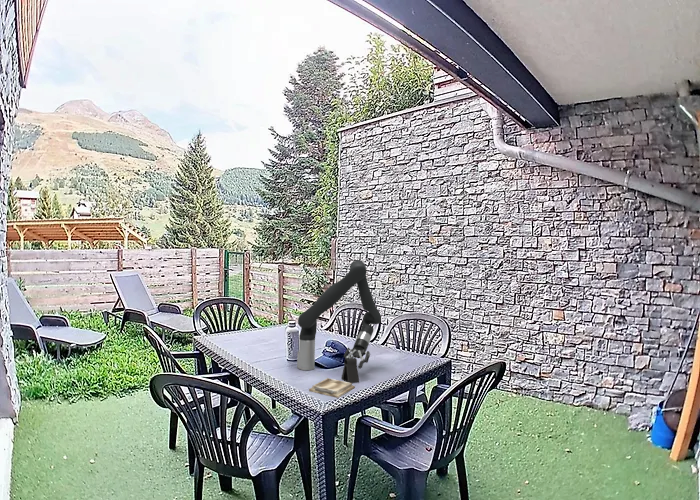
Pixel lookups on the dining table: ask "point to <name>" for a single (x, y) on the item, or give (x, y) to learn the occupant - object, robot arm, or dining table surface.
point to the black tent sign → (350, 371)
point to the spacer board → (332, 387)
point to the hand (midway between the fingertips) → (352, 366)
